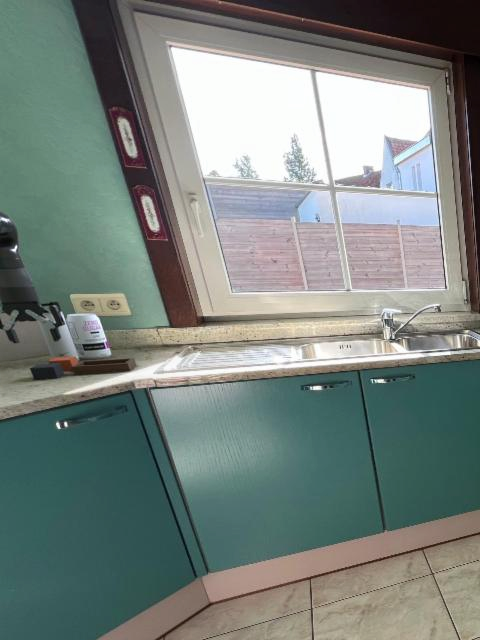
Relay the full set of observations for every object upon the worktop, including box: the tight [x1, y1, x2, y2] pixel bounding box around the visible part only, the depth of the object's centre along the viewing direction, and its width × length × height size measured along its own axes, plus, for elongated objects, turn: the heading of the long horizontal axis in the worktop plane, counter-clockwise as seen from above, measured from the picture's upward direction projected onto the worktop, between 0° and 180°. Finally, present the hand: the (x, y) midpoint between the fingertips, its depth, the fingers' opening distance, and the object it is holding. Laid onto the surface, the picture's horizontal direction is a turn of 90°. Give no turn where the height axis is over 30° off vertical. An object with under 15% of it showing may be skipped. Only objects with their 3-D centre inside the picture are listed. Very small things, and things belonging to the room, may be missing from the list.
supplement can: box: [65, 312, 112, 360], centre depth 173 cm, size 8×8×15 cm
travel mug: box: [37, 301, 81, 362], centre depth 165 cm, size 6×7×20 cm
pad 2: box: [47, 356, 79, 372], centre depth 158 cm, size 5×6×4 cm
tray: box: [72, 357, 137, 376], centre depth 159 cm, size 13×9×3 cm
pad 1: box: [29, 363, 65, 381], centre depth 149 cm, size 5×6×4 cm
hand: (37, 342), depth 146 cm, fingers open, 8 cm apart
